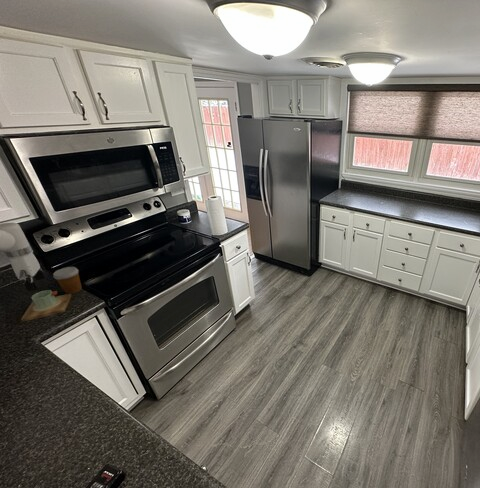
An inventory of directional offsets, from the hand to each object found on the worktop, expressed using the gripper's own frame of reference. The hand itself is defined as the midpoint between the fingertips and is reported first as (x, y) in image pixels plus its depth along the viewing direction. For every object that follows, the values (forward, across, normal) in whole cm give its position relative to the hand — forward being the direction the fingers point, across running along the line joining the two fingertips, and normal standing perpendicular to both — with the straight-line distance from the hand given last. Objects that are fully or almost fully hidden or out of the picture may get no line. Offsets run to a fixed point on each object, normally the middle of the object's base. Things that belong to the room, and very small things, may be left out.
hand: (37, 284), depth 119 cm
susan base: (+13, 0, 0) cm, 13 cm away
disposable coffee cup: (+14, -12, +7) cm, 19 cm away
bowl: (+12, 0, 0) cm, 12 cm away
